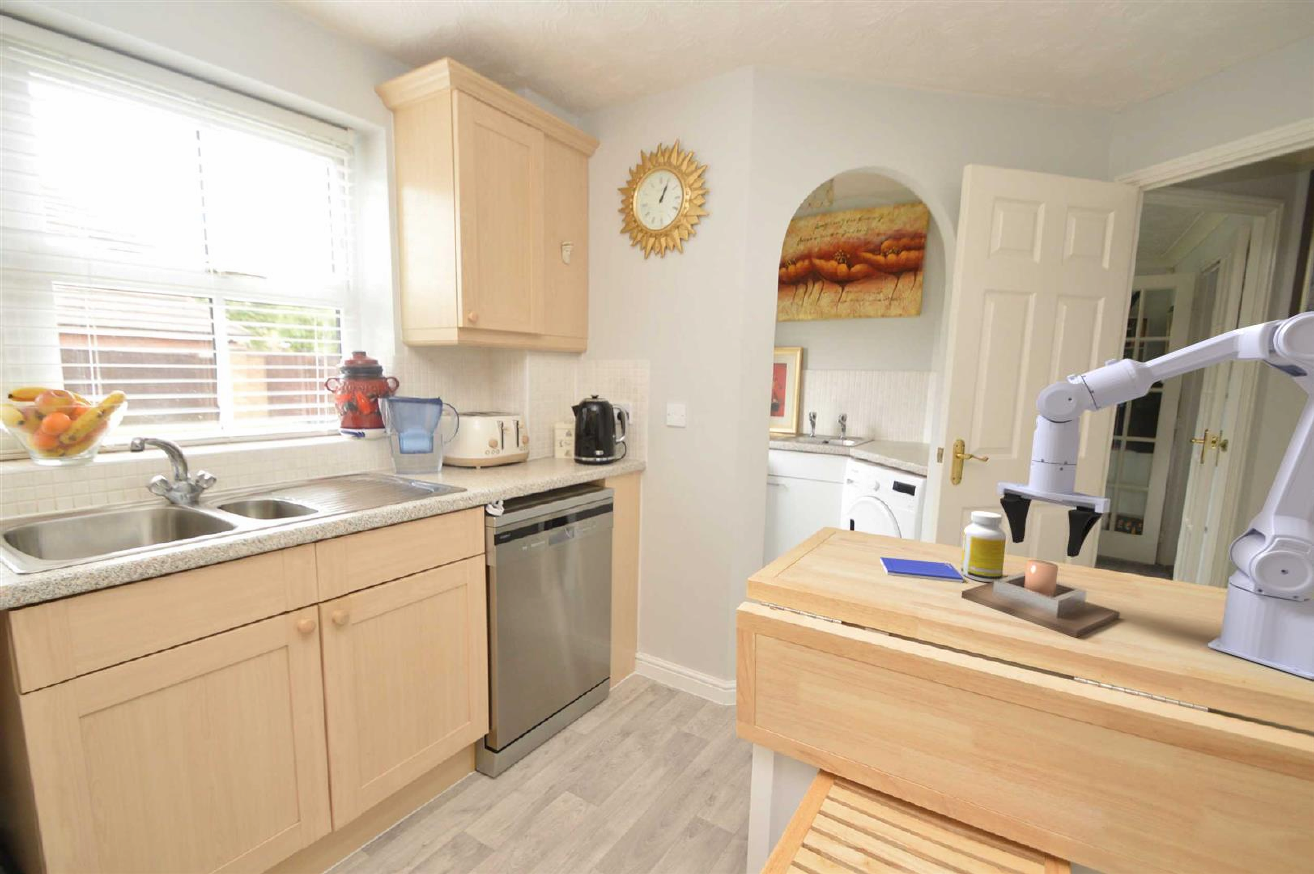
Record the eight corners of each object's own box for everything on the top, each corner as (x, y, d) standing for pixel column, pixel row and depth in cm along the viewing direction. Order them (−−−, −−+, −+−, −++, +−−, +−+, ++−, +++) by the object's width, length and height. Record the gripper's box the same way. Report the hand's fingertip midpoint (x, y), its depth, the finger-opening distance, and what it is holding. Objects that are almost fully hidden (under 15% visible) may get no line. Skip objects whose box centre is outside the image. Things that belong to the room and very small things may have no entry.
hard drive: (949, 562, 105) (880, 555, 107) (963, 577, 97) (887, 569, 99) (949, 570, 105) (879, 563, 107) (962, 585, 97) (887, 577, 100)
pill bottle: (1007, 585, 96) (1014, 519, 95) (967, 581, 98) (973, 516, 96) (993, 572, 103) (999, 511, 101) (955, 569, 104) (961, 508, 103)
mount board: (1118, 618, 84) (1119, 611, 84) (1075, 637, 76) (1076, 630, 76) (1006, 583, 97) (1007, 577, 97) (961, 597, 90) (962, 591, 90)
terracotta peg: (1058, 603, 86) (1063, 565, 85) (1046, 608, 84) (1050, 569, 83) (1030, 594, 89) (1034, 558, 89) (1017, 598, 87) (1021, 561, 87)
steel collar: (1084, 606, 85) (1086, 590, 85) (1056, 617, 81) (1058, 601, 80) (1021, 586, 93) (1023, 572, 93) (992, 596, 88) (994, 580, 88)
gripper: (1123, 467, 81) (1112, 558, 82) (1016, 454, 93) (1008, 533, 94) (1102, 470, 77) (1090, 565, 78) (993, 456, 89) (985, 538, 91)
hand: (1044, 548), depth 86 cm, fingers open, 7 cm apart
